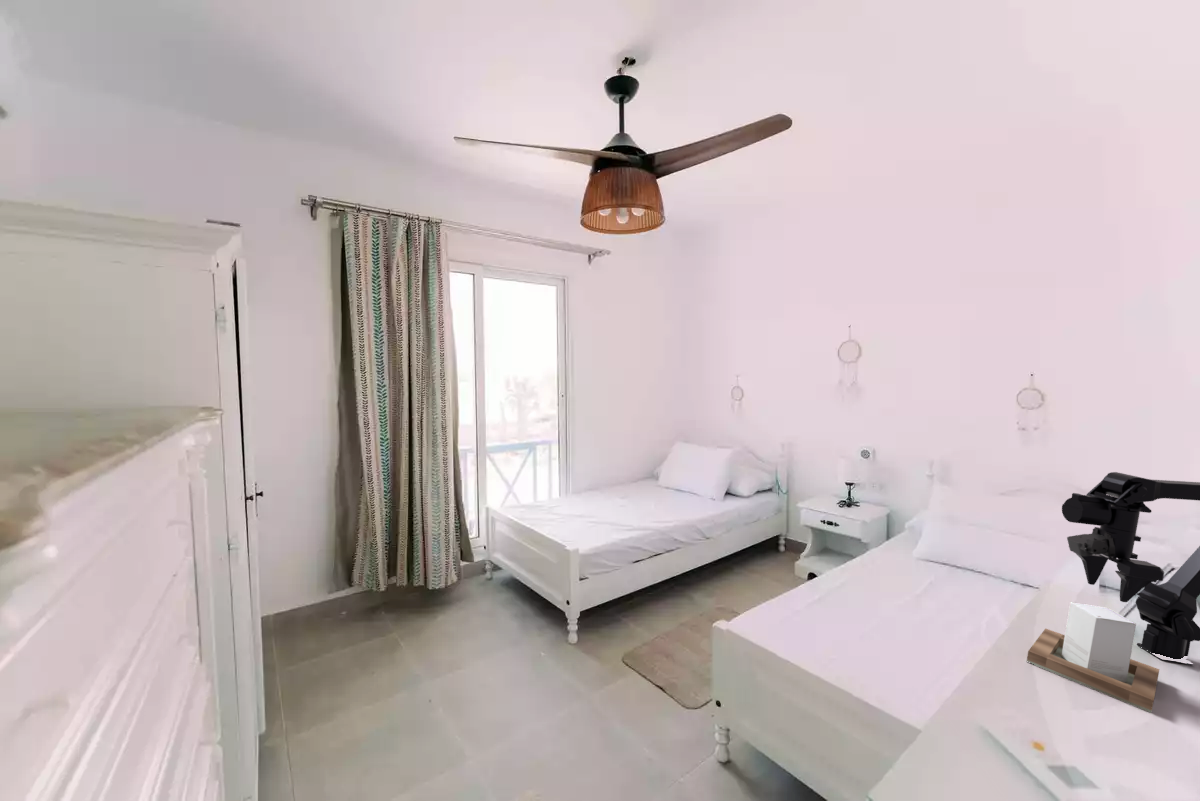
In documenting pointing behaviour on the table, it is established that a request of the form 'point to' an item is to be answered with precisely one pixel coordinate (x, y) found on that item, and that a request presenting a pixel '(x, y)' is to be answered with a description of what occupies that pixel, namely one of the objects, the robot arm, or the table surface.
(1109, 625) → the supplement box
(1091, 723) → the table surface
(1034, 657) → the pocket board
